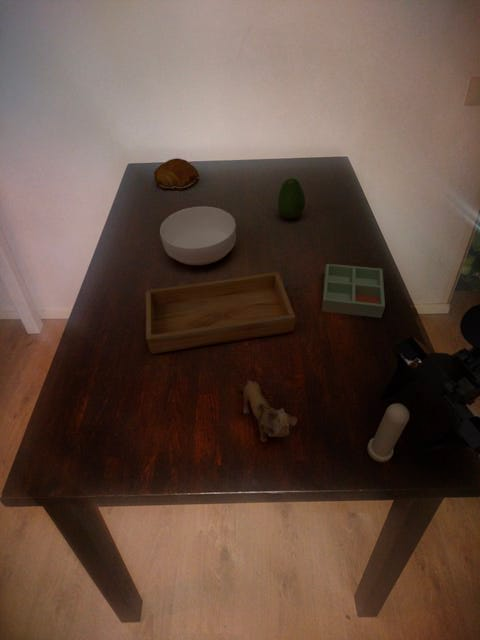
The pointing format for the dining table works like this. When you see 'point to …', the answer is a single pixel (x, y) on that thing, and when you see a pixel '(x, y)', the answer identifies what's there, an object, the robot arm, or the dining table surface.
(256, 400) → the lion figurine
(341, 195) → the dining table surface
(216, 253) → the bowl
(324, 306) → the grid
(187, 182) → the croissant
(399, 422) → the beige rounded cylinder
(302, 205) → the fruit
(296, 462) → the dining table surface
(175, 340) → the tray
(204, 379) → the dining table surface
